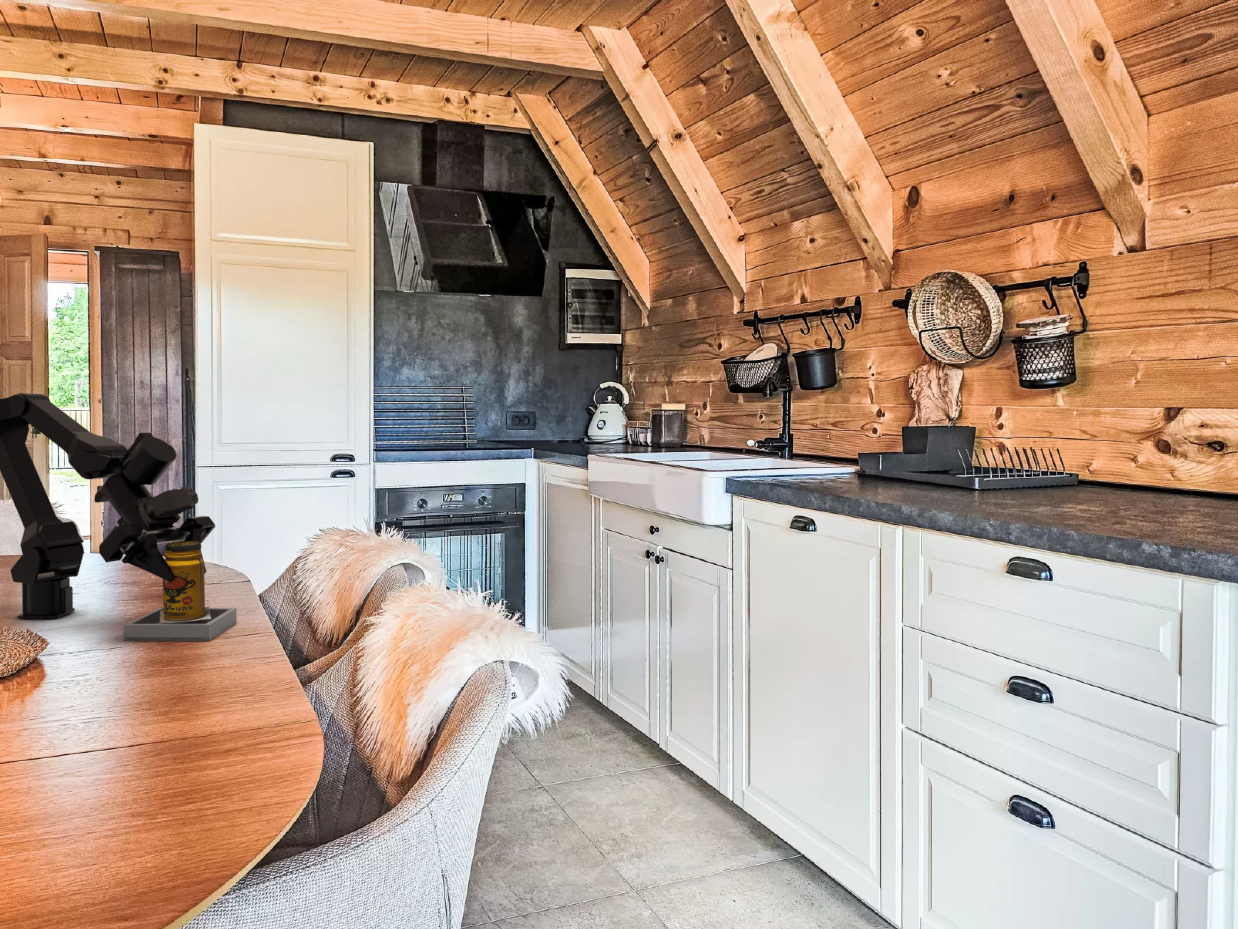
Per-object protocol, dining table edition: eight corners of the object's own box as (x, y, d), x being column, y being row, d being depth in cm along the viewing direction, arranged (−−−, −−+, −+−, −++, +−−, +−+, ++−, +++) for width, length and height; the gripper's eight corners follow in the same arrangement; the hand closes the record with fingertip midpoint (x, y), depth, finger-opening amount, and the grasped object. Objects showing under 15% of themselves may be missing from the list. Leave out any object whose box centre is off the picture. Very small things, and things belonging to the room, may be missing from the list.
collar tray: (124, 641, 142) (123, 625, 142) (158, 622, 154) (158, 608, 154) (209, 641, 143) (209, 625, 143) (236, 623, 155) (236, 608, 155)
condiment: (159, 624, 144) (158, 547, 143) (160, 612, 152) (159, 539, 151) (211, 620, 147) (210, 545, 146) (209, 608, 155) (208, 537, 154)
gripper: (112, 473, 140) (169, 550, 137) (206, 468, 157) (259, 537, 154) (74, 522, 143) (129, 599, 140) (170, 512, 160) (221, 580, 157)
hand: (188, 577), depth 148 cm, fingers closed on condiment, 6 cm apart
